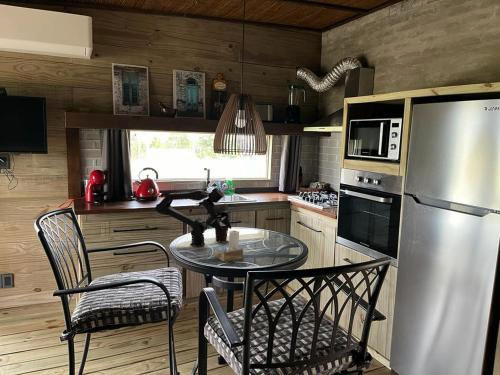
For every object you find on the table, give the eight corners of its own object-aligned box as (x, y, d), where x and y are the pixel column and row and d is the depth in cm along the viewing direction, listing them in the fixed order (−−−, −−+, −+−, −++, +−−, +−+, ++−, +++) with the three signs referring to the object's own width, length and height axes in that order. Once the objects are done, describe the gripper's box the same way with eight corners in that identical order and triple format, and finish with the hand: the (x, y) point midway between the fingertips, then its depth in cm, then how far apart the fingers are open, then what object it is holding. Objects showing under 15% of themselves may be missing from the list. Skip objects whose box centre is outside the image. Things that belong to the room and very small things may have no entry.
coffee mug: (220, 237, 241) (221, 221, 240) (231, 240, 236) (231, 224, 234) (207, 240, 232) (208, 224, 231) (217, 243, 227) (218, 227, 226)
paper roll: (226, 251, 213) (227, 231, 212) (231, 248, 218) (232, 229, 216) (235, 252, 211) (236, 232, 209) (239, 250, 216) (240, 230, 214)
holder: (214, 257, 202) (214, 247, 201) (230, 253, 209) (231, 244, 209) (225, 262, 195) (226, 252, 194) (242, 258, 202) (242, 249, 201)
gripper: (211, 201, 207) (228, 224, 203) (227, 197, 223) (244, 218, 220) (198, 214, 211) (215, 236, 208) (215, 209, 228) (231, 229, 224)
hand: (227, 229), depth 215 cm, fingers open, 9 cm apart
